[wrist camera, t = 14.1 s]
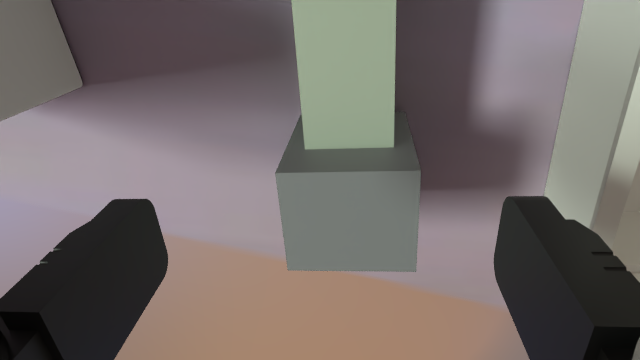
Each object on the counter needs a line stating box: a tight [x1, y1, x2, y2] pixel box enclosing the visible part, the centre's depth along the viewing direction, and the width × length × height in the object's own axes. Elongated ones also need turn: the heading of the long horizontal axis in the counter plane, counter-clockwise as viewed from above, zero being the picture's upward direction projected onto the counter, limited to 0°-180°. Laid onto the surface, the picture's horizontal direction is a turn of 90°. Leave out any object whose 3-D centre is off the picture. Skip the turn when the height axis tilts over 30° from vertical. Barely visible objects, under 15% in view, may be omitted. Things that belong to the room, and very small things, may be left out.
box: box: [275, 0, 421, 272], centre depth 19 cm, size 14×6×7 cm, turn 4°
